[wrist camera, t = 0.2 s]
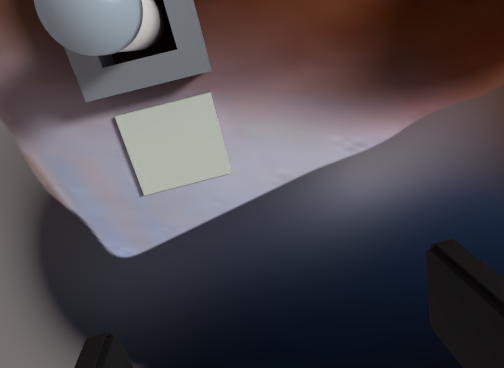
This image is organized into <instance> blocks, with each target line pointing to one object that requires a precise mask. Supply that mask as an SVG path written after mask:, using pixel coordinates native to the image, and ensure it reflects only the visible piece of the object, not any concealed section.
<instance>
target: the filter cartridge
mask: <svg viewBox="0 0 504 368" xmlns="http://www.w3.org/2000/svg"><path fill="white" fill-rule="evenodd" d="M34 4H35V8H36V11H37V14H38V17H39V19H40V21H41V23H42V24H43V26H44V28H45V29H46V30H47V32H48V33H49V34H50V35H51V36H52V37H53V38H54V39H55V40H56V41H57V42H58V43H59V44H61V45H62V46H64V47H65V48H67V49H69V50H71V51H73V52H76V53H79V54H82V55H88V56H100V55H109V54H114V53H117V52H125V51H137V50H146V49H149V48H151V47H153V46H154V45H156V44H157V43H158V42H159V40H160V39H161V37H162V35H163V33H164V28H165V19H164V14H163V12H162V9H161V7H160V6H159V4H158V3H157V2H156V1H155V0H34Z"/></svg>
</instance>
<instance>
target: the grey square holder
mask: <svg viewBox="0 0 504 368" xmlns="http://www.w3.org/2000/svg"><path fill="white" fill-rule="evenodd" d="M163 1H164V5H165V8H166V12H167V15H168V19H169V22H170V26H171V29H172V33H173V36H174V39H175V43H176V46H177V50H173V51H169V52H164V53H160V54H156V55H152V56H148V57H144V58H140V59H136V60H132V61H128V62H124V63H120V64H116V65H115V62H114V59H113V56H112V54H109V55H100V56H88V55H82V54H79V53H76V52H73V51H71V50H69V49H67V48H65V47H64V49H65V51H66V54H67V56H68V59H69V61H70V64H71V66H72V69H73V71H74V74H75V76H76V79H77V81H78V84H79V86H80V89H81V91H82V94H83V96H84V99H85V102H89V101H93V100H97V99H101V98H105V97H109V96H113V95H117V94H121V93H125V92H129V91H133V90H137V89H141V88H145V87H149V86H153V85H157V84H161V83H165V82H169V81H173V80H177V79H181V78H185V77H189V76H193V75H197V74H201V73H205V72H209V71H212V70H211V66H210V62H209V58H208V54H207V50H206V47H205V43H204V39H203V35H202V31H201V27H200V24H199V20H198V16H197V12H196V8H195V4H194V1H193V0H163Z"/></svg>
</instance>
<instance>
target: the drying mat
mask: <svg viewBox="0 0 504 368" xmlns="http://www.w3.org/2000/svg"><path fill="white" fill-rule="evenodd" d="M115 119H116V122H117V124H118V127H119V130H120V132H121V135H122V138H123V140H124V143H125V146H126V148H127V151H128V154H129V156H130V159H131V162H132V164H133V167H134V170H135V172H136V175H137V178H138V180H139V183H140V186H141V189H142V191H143V194H144V196H145V195H149V194H153V193H156V192H160V191H164V190H168V189H172V188H176V187H180V186H183V185H187V184H191V183H195V182H199V181H203V180H207V179H210V178H214V177H218V176H222V175H226V174H230V173H232V171H231V167H230V164H229V160H228V156H227V152H226V149H225V145H224V141H223V137H222V134H221V130H220V126H219V122H218V119H217V115H216V111H215V108H214V104H213V100H212V96H211V93H210V92H208V93H204V94H200V95H196V96H192V97H188V98H184V99H180V100H176V101H172V102H168V103H164V104H160V105H156V106H152V107H148V108H144V109H140V110H136V111H132V112H128V113H124V114H120V115H116V116H115Z"/></svg>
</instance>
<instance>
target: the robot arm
mask: <svg viewBox="0 0 504 368" xmlns="http://www.w3.org/2000/svg"><path fill="white" fill-rule="evenodd" d="M426 261H427V280H428V294H429V295H428V296H429V311H430V322H431V325H432V327H433V329H434V331H435V332H436V334H437V335H438V336H439V338H440V339H441V340H442V341H443V343H444V344H445V345H446V346H447V348H448V349H449V350H450V351H451V352H452V354H453V355H454V356H455V357H456V359H457V360H458V361H459V362H460V364H461V365H462V366H463V367H464V368H504V278H503V277H502V276H500V275H498V274H497V273H496V272H494V271H493V270H492V269H491V268H489V267H488V266H487V265H486V264H484V263H483V262H482V261H480V260H479V259H478V258H477V257H475V256H474V255H473V254H471V253H470V252H469V251H468V250H466V249H465V248H464V247H462V246H461V245H460V244H459V243H457V242H456V241H454V240H453V239H448V240H445V241H441V242H438V243H434V244H432V245H431V247H430V250H428V251H427V252H426ZM75 368H133V366H132V364H131V362H130V360H129V358H128V356H127V354H126V352H125V350H124V347H123V345H122V343H121V341H120V339H119V337H118V336H117V335H113V336H112V334H111V333H110V332H104V333H101V334H97V335H94V336H90V337H88V338H87V339H86V341H85V343H84V346H83V348H82V351H81V353H80V355H79V358H78V360H77V363H76V365H75Z"/></svg>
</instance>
